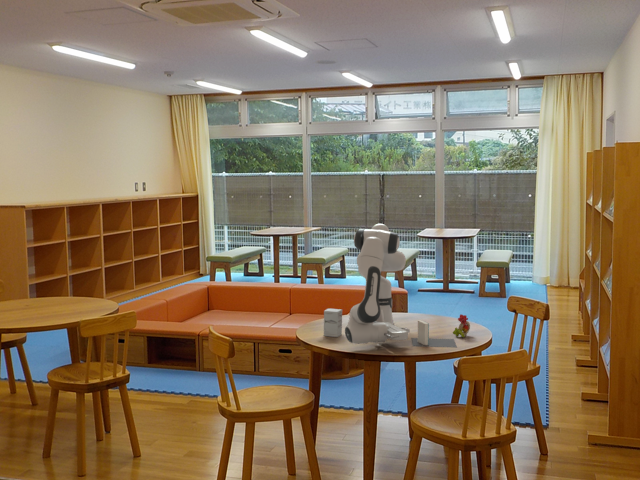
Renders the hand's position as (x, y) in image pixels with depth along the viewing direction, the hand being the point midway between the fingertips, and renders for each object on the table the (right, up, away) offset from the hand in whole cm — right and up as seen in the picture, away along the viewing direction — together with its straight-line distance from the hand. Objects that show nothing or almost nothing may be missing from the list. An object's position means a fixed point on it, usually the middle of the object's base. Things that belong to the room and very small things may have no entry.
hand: (408, 330), depth 303 cm
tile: (+7, -7, +3) cm, 10 cm away
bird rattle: (+29, -6, +20) cm, 36 cm away
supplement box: (-34, -6, +21) cm, 40 cm away
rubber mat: (+12, -7, +4) cm, 15 cm away
